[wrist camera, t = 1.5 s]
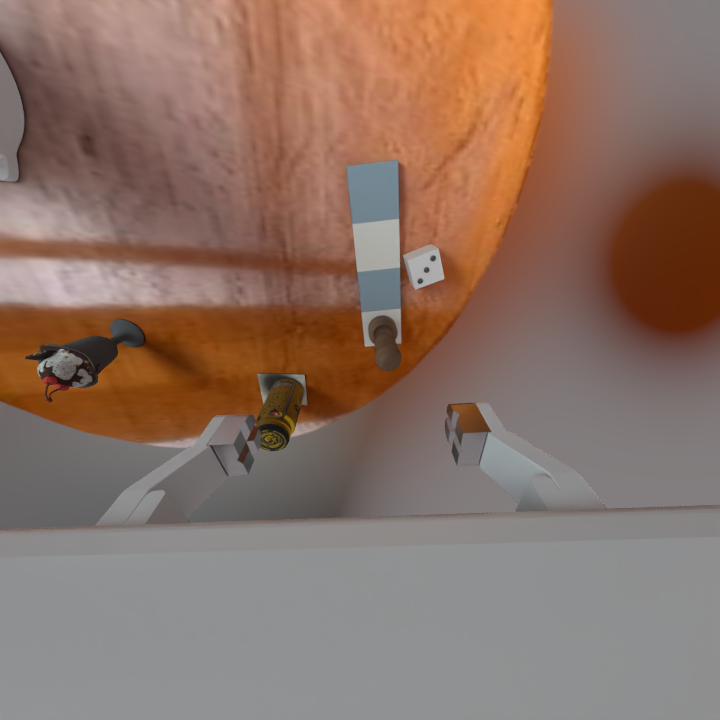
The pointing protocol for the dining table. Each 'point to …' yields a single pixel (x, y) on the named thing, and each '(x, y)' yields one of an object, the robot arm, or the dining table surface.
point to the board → (376, 240)
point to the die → (424, 266)
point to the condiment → (279, 408)
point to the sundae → (83, 357)
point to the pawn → (385, 342)
